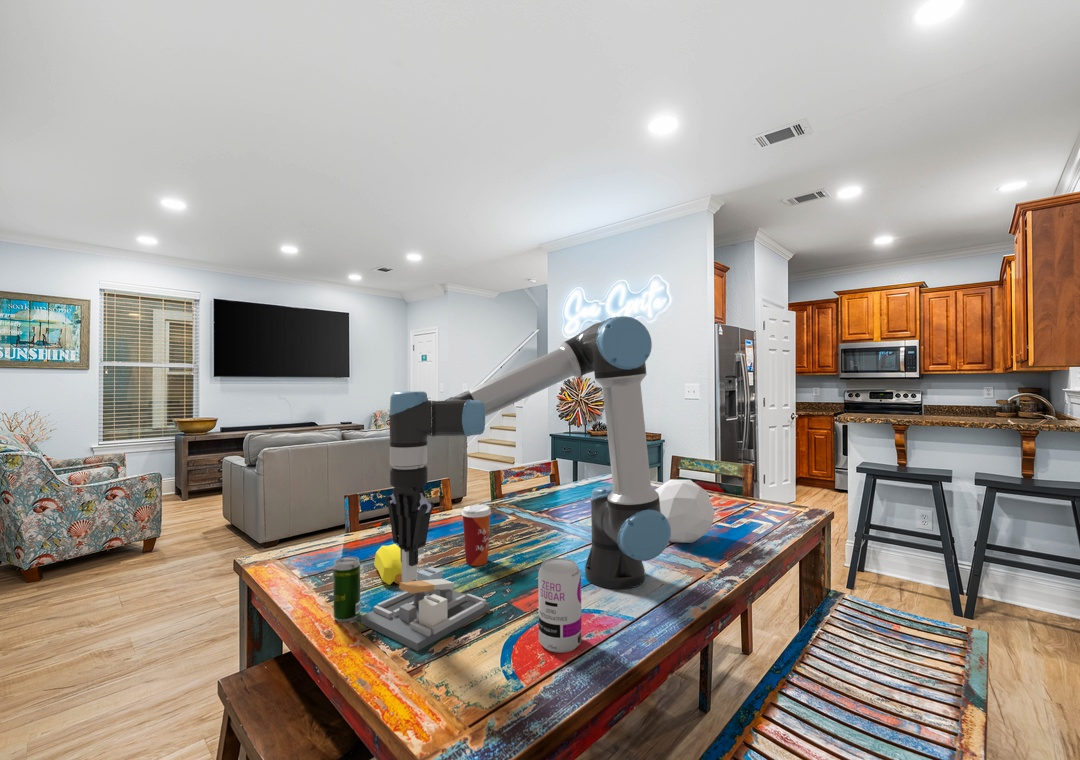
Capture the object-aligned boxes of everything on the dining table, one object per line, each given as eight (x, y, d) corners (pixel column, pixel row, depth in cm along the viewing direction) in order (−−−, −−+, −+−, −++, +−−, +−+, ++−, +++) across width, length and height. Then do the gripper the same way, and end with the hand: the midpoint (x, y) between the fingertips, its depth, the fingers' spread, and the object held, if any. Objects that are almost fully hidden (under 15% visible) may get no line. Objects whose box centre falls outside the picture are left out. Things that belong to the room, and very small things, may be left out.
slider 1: (442, 589, 113) (442, 569, 113) (428, 596, 110) (428, 575, 110) (430, 585, 116) (430, 565, 115) (417, 591, 112) (417, 571, 112)
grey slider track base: (490, 610, 107) (489, 582, 107) (417, 651, 91) (417, 619, 91) (434, 589, 118) (433, 564, 118) (360, 623, 102) (360, 594, 102)
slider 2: (447, 621, 98) (447, 597, 98) (432, 629, 95) (432, 605, 95) (434, 615, 101) (433, 592, 101) (418, 623, 98) (418, 599, 98)
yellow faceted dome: (384, 591, 117) (416, 584, 121) (384, 563, 117) (416, 557, 121) (372, 566, 133) (400, 561, 137) (371, 541, 133) (400, 537, 137)
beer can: (363, 610, 107) (362, 555, 107) (356, 622, 102) (356, 565, 102) (338, 611, 107) (337, 556, 107) (330, 623, 102) (329, 566, 102)
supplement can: (578, 631, 98) (578, 556, 98) (583, 654, 90) (583, 573, 90) (538, 632, 98) (537, 557, 98) (539, 655, 89) (539, 573, 89)
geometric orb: (699, 563, 151) (739, 519, 144) (648, 548, 144) (687, 501, 137) (675, 518, 167) (711, 476, 160) (629, 503, 160) (663, 458, 153)
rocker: (452, 591, 108) (454, 582, 108) (410, 597, 98) (412, 587, 99) (440, 587, 110) (442, 578, 110) (398, 592, 101) (399, 582, 101)
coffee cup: (486, 568, 130) (485, 512, 130) (457, 566, 132) (457, 511, 132) (495, 557, 139) (495, 504, 139) (468, 555, 140) (467, 503, 140)
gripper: (444, 466, 100) (444, 581, 100) (403, 460, 108) (404, 567, 108) (415, 472, 94) (415, 594, 94) (374, 465, 101) (374, 578, 101)
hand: (409, 579), depth 101 cm, fingers closed
